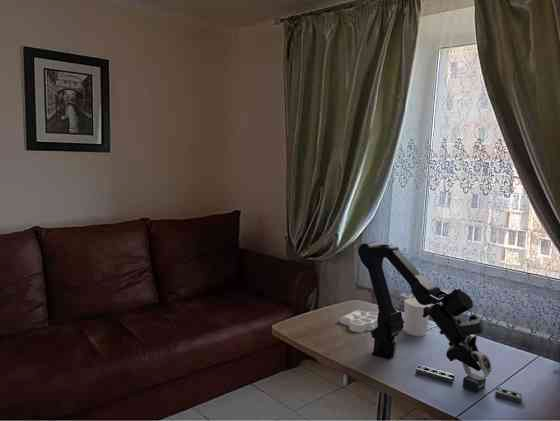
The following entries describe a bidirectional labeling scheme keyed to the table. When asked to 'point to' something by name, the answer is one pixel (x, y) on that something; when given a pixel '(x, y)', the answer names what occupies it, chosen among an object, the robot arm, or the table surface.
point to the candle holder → (415, 318)
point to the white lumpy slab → (360, 321)
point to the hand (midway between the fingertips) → (481, 366)
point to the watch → (475, 381)
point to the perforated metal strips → (449, 378)
